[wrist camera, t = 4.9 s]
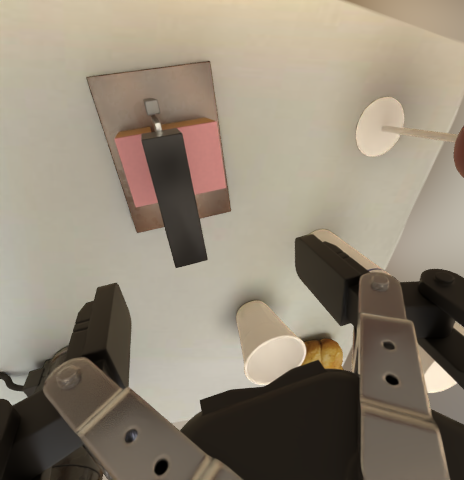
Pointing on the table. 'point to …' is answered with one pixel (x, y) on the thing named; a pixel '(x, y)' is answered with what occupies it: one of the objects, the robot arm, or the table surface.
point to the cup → (267, 344)
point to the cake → (198, 154)
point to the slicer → (166, 110)
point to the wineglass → (397, 131)
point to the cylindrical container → (432, 370)
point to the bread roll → (324, 353)
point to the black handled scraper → (174, 193)
